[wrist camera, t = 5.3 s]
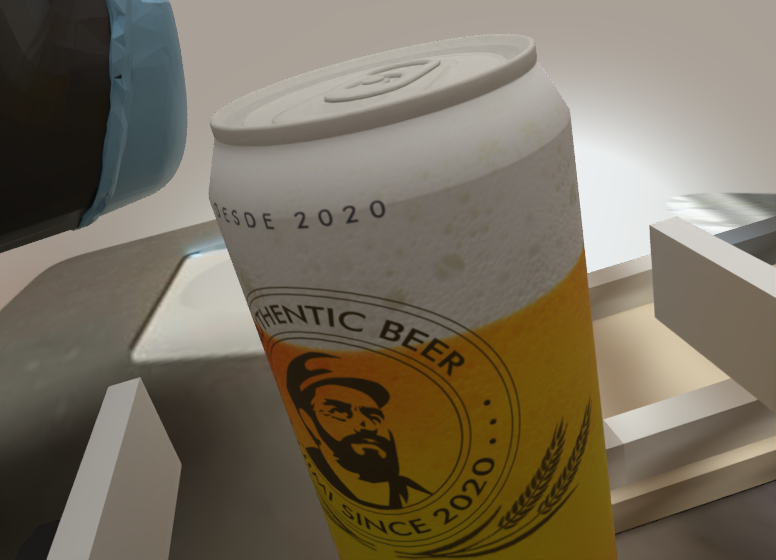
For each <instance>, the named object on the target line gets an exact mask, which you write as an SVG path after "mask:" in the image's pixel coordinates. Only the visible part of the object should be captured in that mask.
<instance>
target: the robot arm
mask: <svg viewBox="0 0 776 560" xmlns="http://www.w3.org/2000/svg"><path fill="white" fill-rule="evenodd" d="M186 101H187V99H186V88H185V79H184V71H183V64H182V57H181V50H180V44H179V39H178V33H177V28H176V24H175V19H174V15H173V11H172V8H171V4H170V2H169V1H168V0H0V253H2V252H5V251H8V250H11V249H14V248H17V247H20V246H23V245H26V244H29V243H32V242H35V241H38V240H41V239H44V238H47V237H50V236H53V235H56V234H59V233H62V232H65V231H68V230H73V231H74V230H77V229H80V228H83V227H86V226H88V225H90V224H91V223H93V222H94V221H96V220H97V219H98V217H99V216H101V215H104V214H106V213H109V212H111V211H114V210H116V209H118V208H121V207H123V206H126V205H128V204H130V203H133V202H135V201H138V200H140V199H142V198H145V197H147V196H150V195H151V194H154V193H156V192H157V191H159V190H160V189H161V188H163V187H164V186H165V185H166V184H167V183H168V182H169V181H170V180H171V179H172V178H173V176H174V175H175V173H176V171H177V169H178V167H179V165H180V162H181V160H182V157H183V154H184V149H185V144H186V136H187V102H186ZM649 226H650V244H651V261H652V278H653V295H654V312H655V318H656V319H657V320H659V321H660V322H661V323H662V324H664V325H665V326H666V327H668V328H669V329H670V330H671V331H673V332H674V333H675V334H676V335H678V336H679V337H680V338H681V339H683V340H684V341H685V342H686V343H688V344H689V345H690V346H691V347H693V348H694V349H695V350H696V351H698V352H699V353H700V354H701V355H703V356H704V357H705V358H707V359H708V360H709V361H710V362H712V363H713V364H714V365H715V366H717V367H718V368H719V369H720V370H722V371H723V372H724V373H725V374H727V375H728V376H729V377H730V378H732V379H733V380H734V381H735V382H737V383H738V384H739V385H740V386H742V387H743V388H744V389H745V390H747V391H748V392H749V393H751V394H752V395H753V396H754V397H756V398H757V399H758V400H759V401H761V402H762V403H763V404H764V405H766V406H767V407H768V408H769V409H771V410H772V411H773V412H774V413H776V268H775V267H773V266H771V265H769V264H767V263H765V262H763V261H762V260H760V259H758V258H756V257H754V256H752V255H750V254H748V253H746V252H744V251H742V250H740V249H738V248H736V247H735V246H733V245H731V244H729V243H727V242H725V241H723V240H721V239H719V238H717V237H715V236H713V235H711V234H709V233H708V232H706V231H704V230H702V229H700V228H698V227H696V226H694V225H692V224H690V223H688V222H686V221H684V220H683V219H681V218H679V217H675V218H671V219H668V220H665V221H661V222H658V223H655V224H651V225H649ZM181 466H182V464H181V462H180V460H179V458H178V456H177V454H176V452H175V450H174V447H173V445H172V443H171V441H170V439H169V437H168V435H167V433H166V431H165V428H164V426H163V424H162V422H161V420H160V418H159V416H158V414H157V412H156V409H155V407H154V405H153V403H152V401H151V399H150V397H149V395H148V393H147V390H146V388H145V386H144V384H143V382H142V380H141V378H140V377H139V378H136V379H133V380H129V381H126V382H123V383H119V384H116V385H113V386H109V387H108V389H107V392H106V395H105V398H104V400H103V403H102V406H101V409H100V412H99V414H98V417H97V420H96V423H95V426H94V428H93V431H92V434H91V437H90V440H89V442H88V445H87V448H86V451H85V454H84V456H83V459H82V462H81V465H80V468H79V470H78V473H77V476H76V479H75V481H74V484H73V487H72V490H71V493H70V495H69V498H68V501H67V504H66V507H65V509H64V512H63V515H62V518H61V519H60V520H56V521H53V522H50V523H47V524H44V525H40V526H38V527H37V529H36V530H35V531H34V532H33V533H32V535H31V536H30V537H29V538H28V540H27V541H26V542H25V543H24V545H23V546H22V547H21V548H20V550H19V552H18V555H17V557H16V559H15V560H168V557H169V550H170V543H171V536H172V529H173V522H174V515H175V508H176V501H177V494H178V487H179V480H180V473H181Z"/></svg>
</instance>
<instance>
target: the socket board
mask: <svg viewBox="0 0 776 560" xmlns="http://www.w3.org/2000/svg"><path fill="white" fill-rule="evenodd" d="M713 236H715V237H717V238H719V239H721V240H723V241H725V242H727V243H729V244H731V245H733V246H735V247H736V248H738V249H740V250H742V251H744V252H746V253H748V254H750V255H752V256H754V257H756V258H758V259H760V260H762V261H763V262H765V263H767V264H769V265H771V266H773V267H775V268H776V216H775V217H772V218H769V219H765V220H762V221H759V222H755V223H752V224H749V225H746V226H742V227H739V228H736V229H732V230H729V231H726V232H722V233H719V234H716V235H713ZM587 277H588V286H589V296H590V305H591V315H592V324H593V334H594V343H595V352H596V362H597V371H598V381H599V390H600V399H601V409H602V418H603V428H604V437H605V447H606V456H607V465H608V475H609V484H610V494H611V503H612V513H613V522H614V531H615V534H616V533H619V532H622V531H625V530H628V529H631V528H634V527H637V526H640V525H643V524H646V523H649V522H652V521H655V520H657V519H660V518H663V517H666V516H669V515H672V514H675V513H678V512H681V511H684V510H687V509H690V508H693V507H696V506H699V505H702V504H705V503H708V502H711V501H714V500H717V499H719V498H722V497H725V496H728V495H731V494H734V493H737V492H740V491H743V490H746V489H749V488H752V487H755V486H758V485H761V484H764V483H767V482H770V481H773V480H776V413H774V412H773V411H772V410H771V409H769V408H768V407H767V406H766V405H764V404H763V403H762V402H761V401H759V400H758V399H757V398H756V397H754V396H753V395H752V394H751V393H749V392H748V391H747V390H745V389H744V388H743V387H742V386H740V385H739V384H738V383H737V382H735V381H734V380H733V379H732V378H730V377H729V376H728V375H727V374H725V373H724V372H723V371H722V370H720V369H719V368H718V367H717V366H715V365H714V364H713V363H712V362H710V361H709V360H708V359H707V358H705V357H704V356H703V355H701V354H700V353H699V352H698V351H696V350H695V349H694V348H693V347H691V346H690V345H689V344H688V343H686V342H685V341H684V340H683V339H681V338H680V337H679V336H678V335H676V334H675V333H674V332H673V331H671V330H670V329H669V328H668V327H666V326H665V325H664V324H662V323H661V322H660V321H659V320H657V319H656V318H655V312H654V295H653V278H652V261H651V254H650V255H647V256H643V257H640V258H637V259H633V260H630V261H627V262H624V263H620V264H617V265H614V266H611V267H607V268H604V269H601V270H597V271H594V272H591V273H587Z"/></svg>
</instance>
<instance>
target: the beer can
mask: <svg viewBox="0 0 776 560" xmlns="http://www.w3.org/2000/svg"><path fill="white" fill-rule="evenodd" d="M210 126H211V129H212V132H213V135H214V137H215V139H214V140H215V141H214V149H213V158H212V167H211V177H210V186H209V200H210V203H211V206H212V208H213V211H214V214H215V217H216V219H217V222H218V225H219V227H220V230H221V233H222V236H223V238H224V241H225V244H226V247H227V249H228V252H229V255H230V258H231V260H232V263H233V266H234V269H235V271H236V274H237V277H238V279H239V282H240V285H241V288H242V290H243V293H244V296H245V298H246V301H247V304H248V307H249V310H250V312H251V315H252V318H253V320H254V323H255V326H256V329H257V331H258V334H259V337H260V340H261V342H262V345H263V348H264V351H265V353H266V356H267V359H268V362H269V364H270V367H271V370H272V372H273V375H274V378H275V381H276V383H277V386H278V389H279V392H280V394H281V397H282V400H283V403H284V405H285V408H286V411H287V413H288V416H289V419H290V422H291V424H292V427H293V430H294V433H295V435H296V438H297V441H298V444H299V446H300V449H301V452H302V455H303V457H304V460H305V463H306V465H307V468H308V471H309V474H310V476H311V479H312V482H313V485H314V487H315V490H316V493H317V496H318V498H319V501H320V504H321V507H322V509H323V512H324V515H325V517H326V520H327V523H328V526H329V528H330V531H331V534H332V537H333V539H334V542H335V545H336V548H337V550H338V553H339V556H340V558H341V560H617V550H616V541H615V531H614V522H613V513H612V503H611V494H610V484H609V475H608V465H607V456H606V447H605V437H604V428H603V418H602V409H601V399H600V390H599V381H598V371H597V362H596V352H595V343H594V334H593V324H592V315H591V305H590V296H589V286H588V277H587V268H586V259H585V250H584V240H583V230H582V221H581V211H580V202H579V192H578V183H577V174H576V164H575V154H574V145H573V136H572V126H571V117H570V110H569V108H568V106H567V105H566V103H565V101H564V100H563V99H562V97H561V95H560V94H559V92H558V91H557V89H556V88H555V86H554V84H553V83H552V81H551V80H550V78H549V77H548V75H547V74H546V73H545V71H544V69H543V67H542V66H541V64H540V63H539V62H538V60H537V55H536V46H535V42H534V40H533V39H531V38H529V37H527V36H522V35H513V34H493V35H479V36H470V37H462V38H455V39H448V40H441V41H436V42H430V43H425V44H419V45H414V46H409V47H404V48H399V49H395V50H390V51H386V52H381V53H377V54H373V55H369V56H365V57H361V58H357V59H353V60H349V61H345V62H342V63H338V64H334V65H331V66H327V67H324V68H320V69H317V70H314V71H310V72H307V73H304V74H301V75H298V76H295V77H292V78H289V79H286V80H283V81H280V82H277V83H275V84H272V85H269V86H267V87H264V88H261V89H259V90H256V91H254V92H252V93H249V94H247V95H245V96H243V97H240V98H238V99H236V100H234V101H232V102H230V103H229V104H227V105H225V106H223V107H222V108H221V109H219V110H218V111H217V112H215V113H214V114H213V115H212V116H211V118H210Z"/></svg>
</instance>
